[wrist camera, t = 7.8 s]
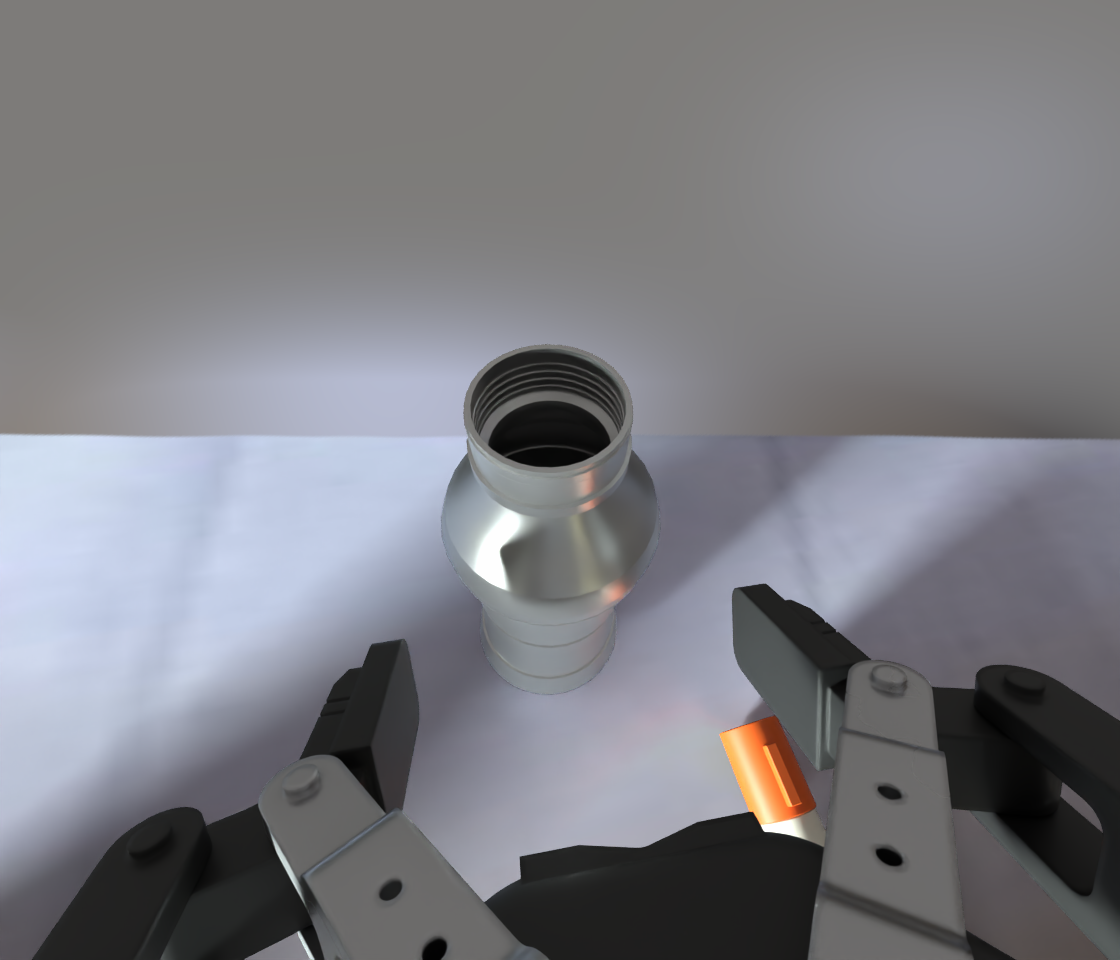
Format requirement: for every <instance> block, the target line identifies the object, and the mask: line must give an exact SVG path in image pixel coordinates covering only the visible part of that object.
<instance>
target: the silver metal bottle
mask: <svg viewBox="0 0 1120 960" xmlns="http://www.w3.org/2000/svg"><path fill="white" fill-rule="evenodd" d="M632 422H633V406H632V400H631V396H630V392H629V389H628V387H627V385H626V384H625V382H624V380H623V378H622V377H621V376H620V375H619V374H618V373H617V371H616V370H615V369H614V368H613V367H612V366H610V365H609V364H607V362H605V361H604V360H602V359H601V358H599V357H597V356H595V355H593V354H591V353H589V352H586V351H583V350H580V349H578V348H573V347H568V346H562V345H547V344H545V345H534V346H528V347H524V348H519V349H516V350H513V351H511V352H508V353H506V354H503V355H501V356H499V357H498V358H496V359H494V360H493V361H491V362H490V363H488V364H487V365H486V366H485V367H484V368H483V369H482V370H481V371H480V372H479V373H478V374H477V376H476V377H475V378H474V379H473V381H472V382H471V384H470V386H469V389H468V391H467V393H466V397H465V402H464V425H465V429H466V432H467V436H468V438H467V451H468V453H467V454H466V455H465V457H464V458H463V459H462V461H461V462H460V464H459V465H458V467H457V468H456V469H455V471H454V474H453V476H452V478H451V481H450V483H449V485H448V488H447V492H446V496H445V499H444V504H443V510H442V515H441V529H442V539H443V543H444V546H445V550H446V553H447V556H448V558H449V560H450V561H451V563H452V565H453V567H454V569H455V570H456V572H457V574H458V575H459V577H460V579H461V580H462V582H463V583H464V585H465V586H466V587H467V588H468V589H469V590H470V591H471V592H472V594H473V595H474V596H475V597H476V598H477V599H478V600H479V601H480V602H481V603H482V604H483V607H482V614H481V622H480V636H481V643H482V646H483V650H484V653H485V655H486V657H487V659H488V661H489V663H490V665H491V666H492V667H493V668H494V670H495V671H496V672H497V673H498V674H499V676H501V677H502V678H503V679H505V680H506V681H507V682H508V683H510V684H511V685H513V686H515V687H517V688H519V689H521V690H524V691H528V692H531V693H535V694H548V695H552V694H559V693H565V692H568V691H571V690H574V689H576V688H579V687H580V686H582V685H584V684H585V683H587V682H589V681H590V680H591V679H592V678H594V677H595V676H596V675H597V674H598V673H599V672H600V671H601V670H602V668H603V667H604V665H605V664H606V663H607V661H608V660H609V657H610V655H611V653H612V651H613V648H614V644H615V639H616V612H615V606H616V605H617V604H618V603H619V602H620V601H621V600H622V599H623V598H624V597H625V596H626V595H627V594H628V593H629V592H630V591H631V590H632V589H633V588H634V586H635V585H636V584H637V582H638V581H639V579H640V578H641V577H642V575H643V574H644V572H645V571H646V569H647V568H648V566H649V564H650V562H651V560H652V558H653V555H654V553H655V551H656V549H657V545H658V540H659V535H660V529H661V527H660V509H659V505H658V500H657V496H656V492H655V489H654V485H653V481H652V479H651V477H650V475H649V473H648V471H647V469H646V467H645V465H644V464H643V462H642V461H641V460H640V459H639V457H638V456H637V455H636V454H635V453H634V451H633V450H632V442H631V434H630V433H631V427H632Z"/></svg>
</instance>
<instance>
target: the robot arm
mask: <svg viewBox="0 0 1120 960" xmlns="http://www.w3.org/2000/svg"><path fill="white" fill-rule="evenodd" d="M732 615H733V647H734V653H735V657H736V660H737V662H738V665H739V667H740V669H741V670H742V672H743V673H744V674H745V676H746V677H747V678H748V680H749V681H750V682H751V684H752V685H753V686H754V688H755V689H756V690H757V692H758V693H759V694H760V696H761V697H762V698H763V700H764V701H765V702H766V704H767V705H768V706H769V708H770V709H771V710H772V712H773V713H774V714H775V715H776V717H777V718H778V719H779V721H780V722H781V723H782V725H783V726H784V727H785V729H786V730H787V731H788V733H789V734H790V735H791V737H792V738H793V739H794V741H795V742H796V743H797V745H798V746H799V747H800V749H801V750H802V751H803V753H804V754H805V755H806V756H807V758H808V759H809V760H810V762H811V763H812V764H813V766H814V767H815V768H816V770H817V771H821V770H826V769H832V768H834V772H833V780H832V788H831V796H830V804H829V812H828V820H827V828H826V836H825V844H824V847H823V846H821V845H818V844H816V843H814V842H811V841H808V840H805V839H803V838H799V837H796V836H792V835H788V834H783V833H776V832H767V831H764V830H763V828H762V826H761V824H760V823H759V821H758V819H757V817H756V815H755V814H754V812H753V811H752V812H747V813H742V814H736V815H731V816H726V817H721V818H716V819H711V820H706V821H701V822H697V823H695V824H693V825H690V826H688V827H686V828H684V829H682V830H680V831H678V832H676V833H674V834H672V835H670V836H668V837H665V838H663V839H661V840H659V841H657V842H655V843H653V844H651V845H649V846H646V847H642V848H628V847H606V846H584V845H578V846H572V847H567V848H562V849H557V850H552V851H547V852H542V853H537V854H531V855H526V856H521V857H520V871H521V879H520V880H518V881H516V882H514V883H512V884H510V885H508V886H507V887H505V888H503V889H502V890H500V891H499V892H497V893H496V894H494V895H493V896H492V897H491V898H489V899H488V900H487V901H486V902H483V901H482V900H481V899H480V898H479V896H478V895H477V894H476V893H475V892H474V891H473V890H472V889H471V887H470V886H469V885H468V884H467V883H466V882H465V881H464V880H463V878H462V877H461V876H460V875H459V874H458V873H457V872H456V871H455V869H454V868H453V867H452V866H451V865H450V864H449V863H448V862H447V860H446V859H445V858H444V857H443V856H442V855H441V854H440V853H439V851H438V850H437V849H436V848H435V847H434V846H433V845H432V844H431V842H430V841H429V840H428V839H427V838H426V837H425V836H424V834H423V833H422V832H421V831H420V830H419V829H418V828H417V827H416V825H415V824H414V823H413V822H412V821H411V820H410V819H409V818H408V816H407V815H406V814H405V813H404V812H403V811H402V809H403V804H404V798H405V793H406V788H407V783H408V777H409V772H410V767H411V762H412V756H413V751H414V746H415V741H416V735H417V730H418V724H419V701H418V694H417V689H416V684H415V679H414V674H413V669H412V664H411V660H410V655H409V650H408V646H407V643H406V641H405V639H400V640H394V641H387V642H381V643H375V644H372V645H371V646H370V648H369V651H368V654H367V656H366V659H365V661H364V664H363V666H362V667H360V668H354V669H349V670H348V671H347V672H346V673H345V674H344V675H343V676H342V677H341V678H340V679H339V680H338V681H337V682H336V683H335V684H334V685H333V687H332V690H331V692H330V694H329V696H328V698H327V700H326V701H327V703H326V704H325V705H324V707H323V709H322V711H321V714H320V715H321V716H320V717H319V718H318V720H317V722H316V724H315V727H314V729H313V731H312V733H311V735H310V738H309V740H308V742H307V744H306V746H305V749H304V751H303V753H302V755H301V757H300V759H299V761H296V762H294V763H292V764H290V765H289V766H287V767H285V768H284V769H282V770H281V771H280V772H278V773H277V774H276V775H275V776H274V777H273V778H272V779H270V781H269V782H268V783H267V784H266V785H265V787H264V788H263V790H262V792H261V794H260V796H259V800H258V804H256V805H254V806H252V807H250V808H248V809H246V810H243V811H241V812H238V813H236V814H234V815H231V816H229V817H226V818H224V819H221V820H219V821H216V822H214V823H211V824H209V825H207V826H206V824H205V821H204V818H203V816H202V814H201V812H200V811H199V810H197V809H195V808H190V807H180V808H174V809H170V810H166V811H164V812H161V813H158V814H156V815H154V816H152V817H150V818H148V819H146V820H144V821H142V822H141V823H139V824H137V825H136V826H134V827H133V828H131V829H130V830H129V831H127V832H126V833H125V834H123V835H122V836H121V837H120V838H119V839H118V840H117V841H116V842H115V843H114V844H113V845H112V846H111V847H110V848H109V849H108V850H107V852H106V853H105V854H104V856H103V857H102V859H101V860H100V861H99V863H98V864H97V866H96V867H95V869H94V870H93V872H92V873H91V875H90V876H89V877H88V879H87V880H86V882H85V883H84V885H83V886H82V888H81V889H80V890H79V892H78V893H77V895H76V896H75V898H74V899H73V901H72V902H71V904H70V905H69V906H68V908H67V909H66V911H65V912H64V914H63V915H62V917H61V918H60V919H59V921H58V922H57V924H56V925H55V927H54V928H53V930H52V931H51V932H50V934H49V935H48V937H47V938H46V940H45V941H44V943H43V944H42V946H41V947H40V948H39V950H38V951H37V953H36V954H35V956H34V957H33V959H32V960H244V959H245V958H247V957H249V956H251V955H253V954H255V953H257V952H259V951H261V950H263V949H265V948H267V947H269V946H271V945H273V944H275V943H277V942H279V941H281V940H283V939H284V938H286V937H288V936H290V935H292V934H294V933H296V932H297V933H298V936H299V938H300V940H301V942H302V944H303V946H304V948H305V950H306V952H307V954H308V956H309V958H310V960H1015V959H1014V958H1012V957H1010V956H1009V955H1007V954H1005V953H1004V952H1002V951H1000V950H999V949H997V948H995V947H994V946H992V945H990V944H989V943H987V942H985V941H983V940H982V939H980V938H978V937H977V936H975V935H973V934H972V933H970V932H968V931H967V930H965V923H964V914H963V906H962V897H961V888H960V879H959V871H958V862H957V853H956V844H955V835H954V827H953V818H952V809H960V810H970V812H971V813H972V814H973V815H974V816H975V817H976V818H977V820H978V821H979V822H980V823H981V824H982V825H983V826H984V827H985V828H986V829H987V830H988V831H989V832H990V833H991V835H992V836H993V837H994V838H995V839H996V840H997V841H998V842H999V843H1000V844H1001V845H1002V846H1003V847H1004V848H1005V849H1006V851H1007V852H1008V853H1009V854H1010V855H1011V856H1012V857H1013V858H1014V859H1015V860H1016V861H1017V862H1018V863H1019V864H1020V866H1021V867H1022V868H1023V869H1024V870H1025V871H1026V872H1027V873H1028V874H1029V875H1030V876H1031V877H1032V878H1033V879H1034V881H1035V882H1036V883H1037V884H1038V885H1039V886H1040V887H1041V888H1042V889H1043V890H1044V891H1045V892H1046V893H1047V894H1048V896H1049V897H1050V898H1051V899H1052V900H1053V901H1054V902H1055V903H1056V904H1057V905H1058V906H1059V907H1060V908H1061V909H1062V911H1063V912H1064V913H1065V914H1066V915H1067V916H1068V917H1069V918H1070V919H1071V920H1072V921H1073V922H1074V923H1075V924H1076V925H1077V927H1078V928H1079V929H1080V930H1081V931H1082V932H1083V933H1084V934H1085V935H1086V936H1087V937H1088V938H1089V939H1090V940H1091V942H1092V943H1093V944H1094V945H1095V946H1096V947H1097V948H1098V949H1099V950H1100V951H1101V952H1102V953H1103V954H1104V955H1105V957H1106V958H1107V959H1108V960H1120V721H1119V720H1118V719H1116V718H1114V717H1113V716H1111V715H1110V714H1108V713H1107V712H1105V711H1104V710H1102V709H1101V708H1099V707H1098V706H1096V705H1094V704H1093V703H1091V702H1090V701H1088V700H1087V699H1085V698H1084V697H1082V696H1081V695H1079V694H1077V693H1076V692H1074V691H1073V690H1071V689H1070V688H1068V687H1067V686H1065V685H1064V684H1062V683H1060V682H1059V681H1057V680H1055V679H1054V678H1052V677H1049V676H1047V675H1045V674H1043V673H1040V672H1037V671H1034V670H1031V669H1027V668H1023V667H1018V666H1012V665H991V666H986V667H984V668H981V669H980V670H979V671H978V672H977V674H976V681H975V689H961V688H940V687H932V686H931V684H930V683H929V681H928V680H927V679H926V678H925V677H924V676H922V675H921V674H920V673H918V672H917V671H915V670H913V669H911V668H909V667H907V666H904V665H901V664H898V663H894V662H890V661H883V660H871V659H870V658H869V657H868V656H866V655H865V654H864V653H863V652H862V651H861V650H859V649H858V648H857V647H856V646H855V645H853V644H852V643H851V642H850V641H849V640H847V639H846V638H845V637H844V636H843V635H842V634H840V633H839V632H836V629H834V628H833V627H832V626H831V625H830V624H828V623H827V622H826V623H825V621H824V619H823V618H821V617H820V616H819V615H818V614H817V613H815V612H814V611H813V610H812V609H811V608H808V607H806V606H804V605H802V604H799V603H797V602H795V601H792V600H786V601H785V600H784V599H783V598H782V597H781V596H779V595H778V594H777V593H776V592H775V591H774V590H773V589H772V588H770V587H769V586H768V585H767V584H758V585H752V586H745V587H739V588H735V589H734V591H733V594H732ZM1063 782H1064V783H1065V784H1066V785H1067V786H1068V787H1070V788H1071V789H1072V790H1073V791H1074V792H1076V793H1077V794H1078V795H1079V796H1080V797H1082V798H1083V799H1084V800H1085V801H1086V802H1087V803H1088V804H1089V805H1090V806H1091V808H1092V809H1093V810H1094V812H1095V813H1096V815H1097V817H1098V819H1099V821H1100V823H1101V826H1102V830H1103V833H1102V832H1101V831H1100V830H1099V829H1097V828H1096V827H1095V826H1094V825H1093V824H1092V823H1090V822H1089V821H1088V820H1087V819H1086V818H1085V817H1083V816H1082V815H1081V814H1080V813H1079V812H1078V811H1076V810H1075V809H1074V808H1073V807H1072V806H1071V805H1070V804H1068V803H1067V802H1066V801H1065V800H1064V799H1063V798H1061V797H1060V795H1061V789H1062V783H1063Z"/></svg>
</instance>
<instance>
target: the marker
mask: <svg viewBox="0 0 1120 960" xmlns="http://www.w3.org/2000/svg"><path fill="white" fill-rule="evenodd" d="M720 737H721V739H722V742H723V744H724V747H725V749H726V752H727V755H728V757H729V760H730V762H731V765H732V767H733V770H734V772H735V775H736V778H737V780H738V783H739V785H740V788H741V790H742V793H743V796H744V798H745V801H746V803H747V806H748V808H749V811H750V812H752V811H753V812H754V814H755V815H756V817H757V819H758V821H759V823H760V824H761V826H762V828H763V830H764V831H767V832H776V833H783V834H788V835H792V836H796V837H799V838H803V839H805V840H808V841H811V842H814V843H816V844H818V845H821V846H823V847H824V844H825V836H826V831H825V829H824V827H823V825H822V822H821V820H820V818H819V816H818V813H817V811H816V809H815V807H816V803H815V801H814V798H813V796H812V794H811V792H810V789H809V787H808V785H807V783H806V780H805V778H804V776H803V774H802V771H801V769H800V767H799V765H798V762H797V760H796V758H795V756H794V753H793V751H792V749H791V747H790V744H789V742H788V740H787V738H786V735H785V733H784V731H783V729H782V726H781V724H780V722H779V720H778V718H777V717H776V715H774V716H771V717H768V718H764V719H761V720H758V721H755V722H752V723H749V724H746V725H743V726H740V727H737V728H734V729H731V730H728V731H725V732H722V733H720Z"/></svg>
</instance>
